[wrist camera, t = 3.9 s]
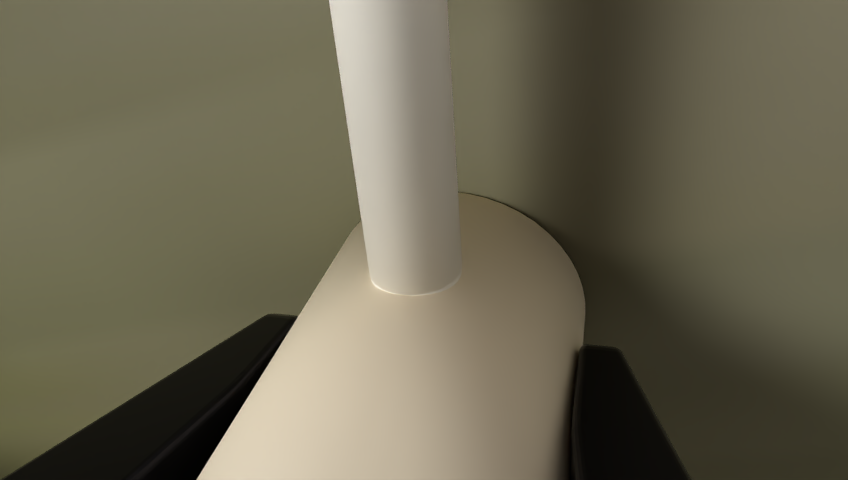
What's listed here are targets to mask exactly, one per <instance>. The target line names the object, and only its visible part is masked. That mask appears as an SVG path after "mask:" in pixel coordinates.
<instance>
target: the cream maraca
mask: <svg viewBox="0 0 848 480" xmlns="http://www.w3.org/2000/svg"><path fill="white" fill-rule="evenodd" d="M329 4H330V10H331V17H332V24H333V31H334V37H335V44H336V51H337V58H338V64H339V71H340V78H341V85H342V92H343V98H344V105H345V112H346V119H347V125H348V132H349V139H350V146H351V153H352V159H353V166H354V173H355V180H356V186H357V193H358V200H359V207H360V213H361V221H360V222H359V223H358V224H357V225H356V226H355V228H354V229H353V230H352V231H351V233H350V234H349V236H348V238H347V239H346V241H345V242H344V244H343V246H342V247H341V249H340V250H339V252H338V254H337V255H336V257H335V258H334V260H333V262H332V263H331V265H330V266H329V268H328V270H327V271H326V273H325V274H324V276H323V278H322V279H321V281H320V282H319V284H318V286H317V287H316V289H315V291H314V292H313V294H312V295H311V297H310V299H309V300H308V302H307V303H306V305H305V307H304V308H303V310H302V311H301V313H300V315H299V316H298V318H297V319H296V321H295V323H294V324H293V326H292V327H291V329H290V331H289V332H288V334H287V335H286V337H285V339H284V340H283V342H282V343H281V345H280V347H279V348H278V350H277V351H276V353H275V355H274V356H273V358H272V359H271V361H270V363H269V364H268V366H267V367H266V369H265V371H264V372H263V374H262V375H261V377H260V379H259V380H258V382H257V383H256V385H255V387H254V388H253V390H252V391H251V393H250V395H249V396H248V398H247V399H246V401H245V403H244V404H243V406H242V407H241V409H240V411H239V412H238V414H237V415H236V417H235V419H234V420H233V422H232V423H231V425H230V427H229V428H228V430H227V431H226V433H225V435H224V436H223V438H222V440H221V441H220V443H219V444H218V446H217V448H216V449H215V451H214V452H213V454H212V456H211V457H210V459H209V460H208V462H207V464H206V465H205V467H204V468H203V470H202V472H201V473H200V475H199V476H198V478H197V480H570V455H571V432H572V414H573V405H574V395H575V385H576V376H577V366H578V357H579V350H580V348H581V346H583V337H584V325H585V297H584V292H583V287H582V284H581V281H580V278H579V275H578V273H577V271H576V269H575V267H574V265H573V263H572V261H571V260H570V258H569V257H568V255H567V254H566V253H565V251H564V250H563V248H562V247H561V246H560V245H559V244H558V242H557V241H556V240H555V239H554V238H553V237H552V236H551V235H550V234H549V233H548V232H547V231H545V230H544V229H543V228H542V227H540V226H539V225H538V224H537V223H536V222H534V221H533V220H531V219H530V218H528V217H526V216H525V215H523V214H522V213H520V212H518V211H516V210H514V209H512V208H510V207H508V206H506V205H504V204H501V203H499V202H496V201H493V200H490V199H487V198H484V197H480V196H475V195H471V194H466V193H458V181H457V164H456V146H455V129H454V111H453V93H452V76H451V58H450V40H449V23H448V5H447V0H329Z"/></svg>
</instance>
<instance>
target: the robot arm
mask: <svg viewBox="0 0 848 480" xmlns="http://www.w3.org/2000/svg"><path fill="white" fill-rule="evenodd" d="M297 318H298V316H294V315H283V314H268V315H266V316H264V317H262V318H260V319H259V320H257V321H255V322H254V323H252V324H251V325H249V326H247V327H246V328H244V329H242V330H241V331H239V332H238V333H236V334H234V335H233V336H231V337H230V338H228V339H226V340H225V341H223V342H222V343H220V344H218V345H217V346H215V347H214V348H212V349H210V350H209V351H207V352H205V353H204V354H202V355H201V356H199V357H197V358H196V359H194V360H193V361H191V362H189V363H188V364H186V365H185V366H183V367H181V368H180V369H178V370H177V371H175V372H173V373H172V374H170V375H168V376H167V377H165V378H164V379H162V380H160V381H159V382H157V383H156V384H154V385H152V386H151V387H149V388H148V389H146V390H144V391H143V392H141V393H140V394H138V395H136V396H135V397H133V398H131V399H130V400H128V401H127V402H125V403H123V404H122V405H120V406H119V407H117V408H115V409H114V410H112V411H111V412H109V413H107V414H106V415H104V416H103V417H101V418H99V419H98V420H96V421H94V422H93V423H91V424H90V425H88V426H86V427H85V428H83V429H82V430H80V431H78V432H77V433H75V434H74V435H72V436H70V437H69V438H67V439H66V440H64V441H62V442H61V443H59V444H57V445H56V446H54V447H53V448H51V449H49V450H48V451H46V452H45V453H43V454H41V455H40V456H38V457H37V458H35V459H33V460H32V461H30V462H28V463H27V464H25V465H24V466H22V467H20V468H19V469H17V470H16V471H14V472H12V473H11V474H9V475H8V476H6V477H4V478H3V479H1V480H197V478H198V476H199V475H200V473H201V472H202V470H203V468H204V467H205V465H206V464H207V462H208V460H209V459H210V457H211V456H212V454H213V452H214V451H215V449H216V448H217V446H218V444H219V443H220V441H221V440H222V438H223V436H224V435H225V433H226V431H227V430H228V428H229V427H230V425H231V423H232V422H233V420H234V419H235V417H236V415H237V414H238V412H239V411H240V409H241V407H242V406H243V404H244V403H245V401H246V399H247V398H248V396H249V395H250V393H251V391H252V390H253V388H254V387H255V385H256V383H257V382H258V380H259V379H260V377H261V375H262V374H263V372H264V371H265V369H266V367H267V366H268V364H269V363H270V361H271V359H272V358H273V356H274V355H275V353H276V351H277V350H278V348H279V347H280V345H281V343H282V342H283V340H284V339H285V337H286V335H287V334H288V332H289V331H290V329H291V327H292V326H293V324H294V323H295V321H296V319H297ZM570 480H691V478H690V476H689V475H688V473H687V471H686V469H685V467H684V465H683V464H682V462H681V460H680V458H679V456H678V454H677V453H676V451H675V449H674V447H673V445H672V443H671V442H670V440H669V438H668V436H667V434H666V432H665V431H664V429H663V427H662V425H661V423H660V421H659V420H658V418H657V416H656V414H655V412H654V410H653V409H652V407H651V405H650V403H649V401H648V399H647V398H646V396H645V394H644V392H643V390H642V388H641V386H640V385H639V383H638V381H637V379H636V377H635V375H634V374H633V372H632V370H631V368H630V366H629V364H628V363H627V361H626V359H625V357H624V355H623V354H622V352H621V351H620V350H619V349H618V348H615V347H608V346H598V345H588V344H586V345H583V346H581V348H580V350H579V357H578V366H577V376H576V385H575V395H574V405H573V414H572V432H571V455H570Z"/></svg>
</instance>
